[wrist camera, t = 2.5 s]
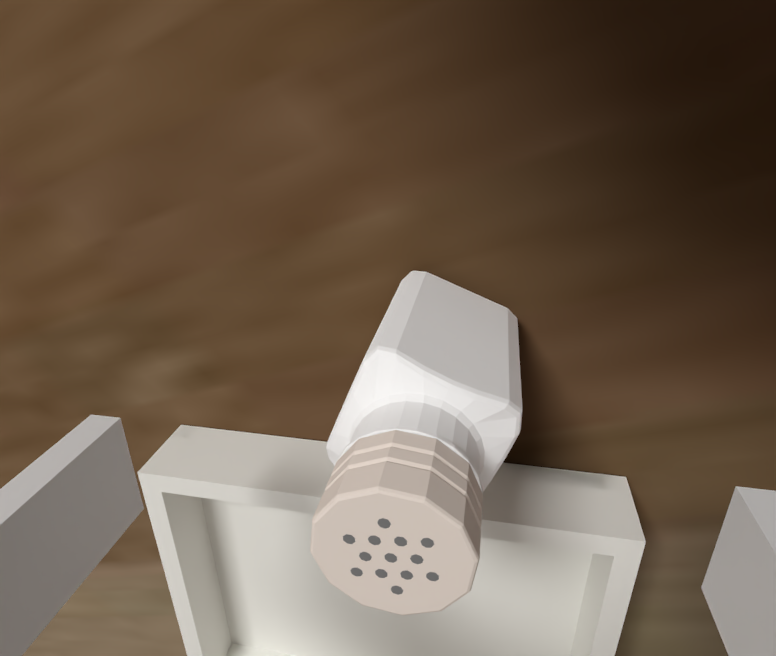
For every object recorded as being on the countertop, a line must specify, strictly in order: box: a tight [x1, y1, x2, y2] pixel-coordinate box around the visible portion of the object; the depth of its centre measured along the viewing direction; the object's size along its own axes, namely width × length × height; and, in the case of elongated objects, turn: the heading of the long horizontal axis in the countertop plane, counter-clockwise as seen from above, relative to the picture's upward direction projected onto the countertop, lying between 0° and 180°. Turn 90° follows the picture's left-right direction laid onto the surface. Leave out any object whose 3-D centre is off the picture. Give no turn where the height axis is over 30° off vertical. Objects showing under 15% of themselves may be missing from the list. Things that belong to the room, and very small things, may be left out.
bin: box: [138, 425, 646, 656], centre depth 22 cm, size 14×18×3 cm
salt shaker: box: [310, 271, 522, 615], centre depth 14 cm, size 4×4×10 cm
